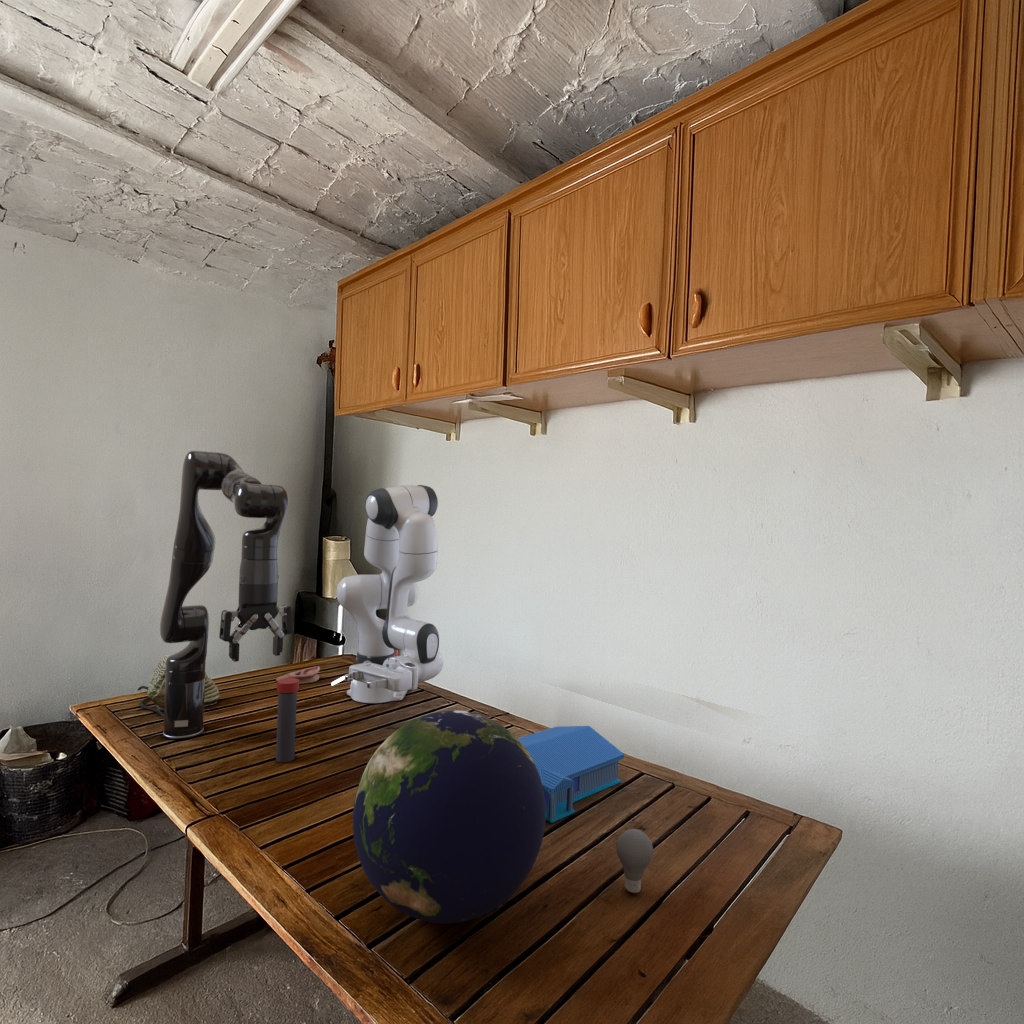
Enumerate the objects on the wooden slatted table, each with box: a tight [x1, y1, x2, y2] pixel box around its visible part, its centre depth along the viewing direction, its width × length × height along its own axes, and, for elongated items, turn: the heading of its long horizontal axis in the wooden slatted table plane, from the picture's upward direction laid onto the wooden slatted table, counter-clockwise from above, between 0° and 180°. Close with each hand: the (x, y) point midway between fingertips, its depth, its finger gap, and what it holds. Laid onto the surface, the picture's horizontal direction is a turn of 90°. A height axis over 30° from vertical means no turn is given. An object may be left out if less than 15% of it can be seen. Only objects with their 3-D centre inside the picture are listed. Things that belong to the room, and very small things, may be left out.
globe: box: [352, 709, 547, 925], centre depth 100 cm, size 30×30×30 cm
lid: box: [276, 678, 300, 693], centre depth 152 cm, size 5×5×2 cm
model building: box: [516, 725, 625, 824], centre depth 140 cm, size 39×24×10 cm, turn 132°
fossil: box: [147, 654, 221, 712], centre depth 185 cm, size 9×18×15 cm, turn 132°
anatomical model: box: [275, 665, 321, 685], centre depth 215 cm, size 13×4×12 cm
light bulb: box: [615, 828, 654, 894], centre depth 106 cm, size 6×6×10 cm
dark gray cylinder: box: [275, 691, 298, 763], centre depth 152 cm, size 4×4×18 cm
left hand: (256, 657), depth 132 cm, fingers open, 8 cm apart
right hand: (357, 681), depth 168 cm, fingers open, 8 cm apart
